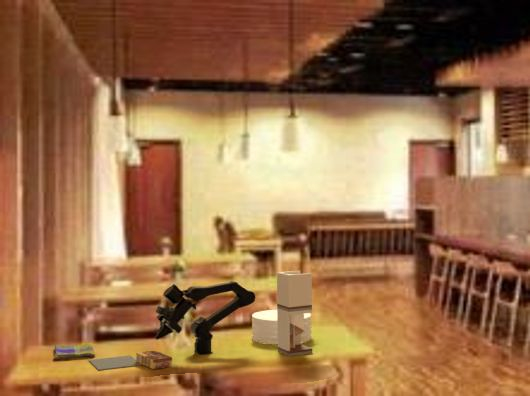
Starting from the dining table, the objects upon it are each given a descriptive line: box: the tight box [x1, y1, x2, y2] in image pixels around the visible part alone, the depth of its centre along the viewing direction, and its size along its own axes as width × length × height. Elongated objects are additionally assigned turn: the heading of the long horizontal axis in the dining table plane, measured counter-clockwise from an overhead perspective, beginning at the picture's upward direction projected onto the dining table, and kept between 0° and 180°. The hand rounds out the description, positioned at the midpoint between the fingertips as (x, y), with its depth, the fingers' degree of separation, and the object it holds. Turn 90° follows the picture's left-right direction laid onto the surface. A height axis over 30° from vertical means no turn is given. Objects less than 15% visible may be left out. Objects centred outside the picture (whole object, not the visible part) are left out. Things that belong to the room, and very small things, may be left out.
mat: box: [88, 354, 143, 372], centre depth 332 cm, size 18×18×1 cm
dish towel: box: [52, 342, 96, 361], centre depth 350 cm, size 18×24×3 cm
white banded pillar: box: [276, 270, 313, 357], centre depth 346 cm, size 11×11×35 cm
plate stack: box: [251, 309, 312, 345], centre depth 375 cm, size 28×28×12 cm
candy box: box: [135, 350, 173, 370], centre depth 328 cm, size 9×4×15 cm
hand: (156, 338), depth 339 cm, fingers closed
